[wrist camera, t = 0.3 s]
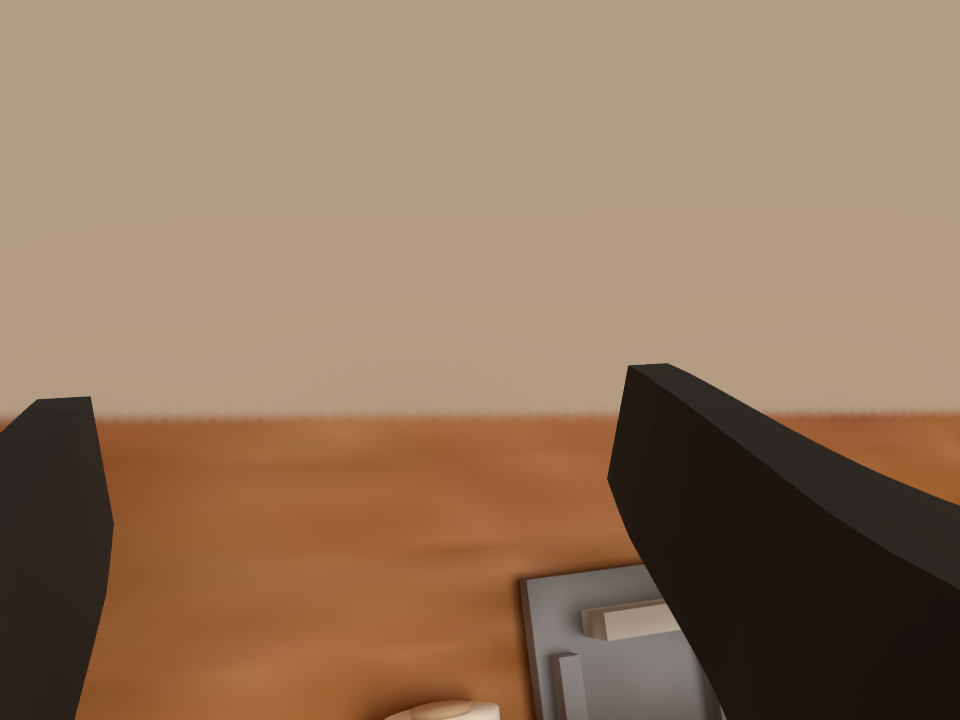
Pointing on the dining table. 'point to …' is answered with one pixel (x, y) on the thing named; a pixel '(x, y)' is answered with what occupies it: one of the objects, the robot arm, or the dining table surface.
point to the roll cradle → (610, 650)
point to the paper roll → (450, 711)
